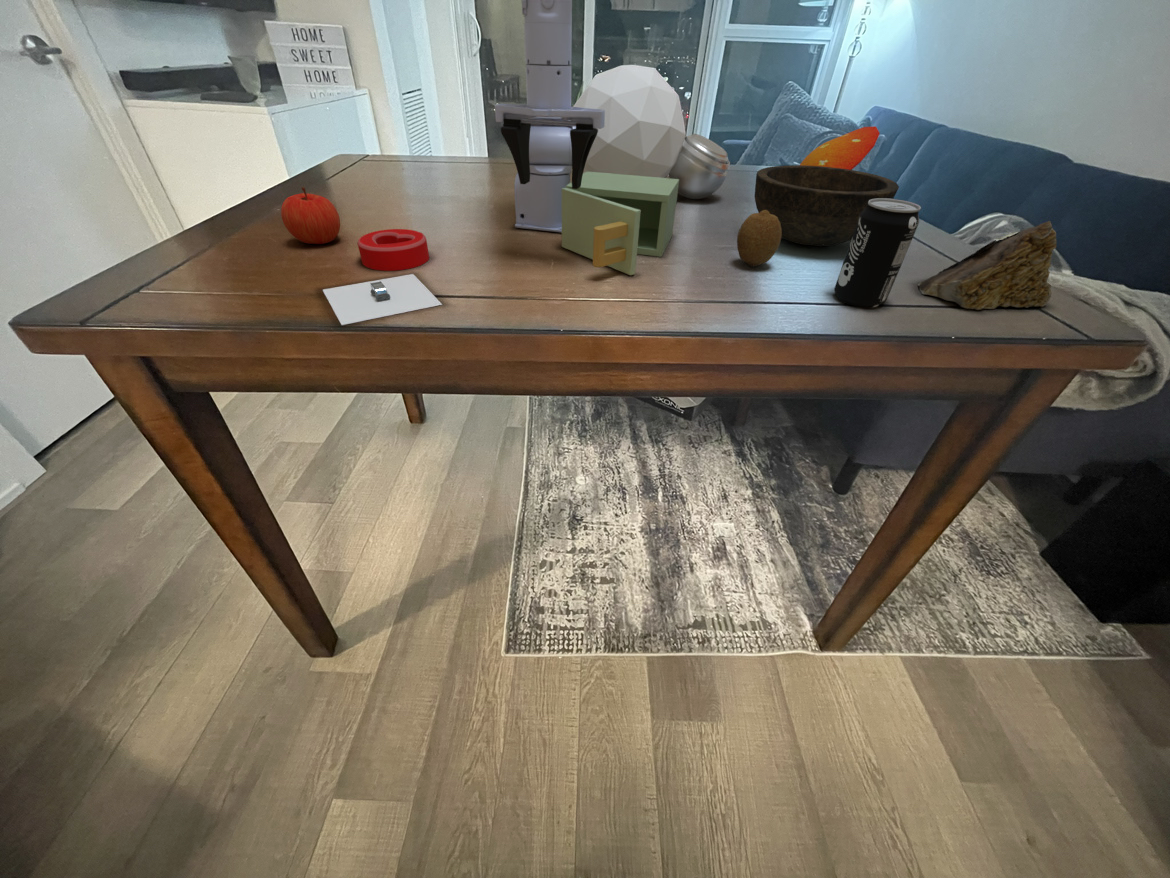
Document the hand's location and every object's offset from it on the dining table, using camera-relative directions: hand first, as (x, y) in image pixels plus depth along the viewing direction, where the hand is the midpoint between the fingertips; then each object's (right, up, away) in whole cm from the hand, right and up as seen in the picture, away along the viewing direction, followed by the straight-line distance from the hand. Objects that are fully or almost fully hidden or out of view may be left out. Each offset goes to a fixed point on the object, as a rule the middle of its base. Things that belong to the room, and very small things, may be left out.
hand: (550, 185), depth 70 cm
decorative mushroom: (+54, +13, +36) cm, 66 cm away
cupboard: (+11, -2, +15) cm, 18 cm away
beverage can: (+42, -17, -3) cm, 45 cm away
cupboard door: (+5, -9, +5) cm, 12 cm away
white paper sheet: (-21, -18, -6) cm, 28 cm away
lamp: (+18, +18, +40) cm, 47 cm away
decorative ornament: (-24, -9, +5) cm, 26 cm away
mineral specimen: (+60, -16, 0) cm, 62 cm away
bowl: (+44, -1, +17) cm, 47 cm away
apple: (-38, -4, +10) cm, 40 cm away
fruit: (+31, -9, +7) cm, 33 cm away
